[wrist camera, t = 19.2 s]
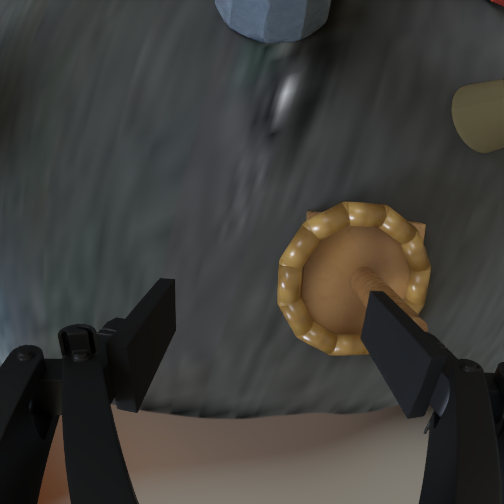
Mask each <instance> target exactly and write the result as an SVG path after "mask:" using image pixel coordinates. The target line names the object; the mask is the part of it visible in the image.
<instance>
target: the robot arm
mask: <svg viewBox="0 0 504 504" xmlns="http://www.w3.org/2000/svg"><path fill="white" fill-rule="evenodd" d="M175 331H176V311H175V279H164V278H160V279H159V280H158V281H157V282H156V283H155V285H154V286H153V287H152V288H151V289H150V290H149V291H148V293H147V294H146V295H145V296H144V297H143V298H142V300H141V301H140V302H139V303H138V304H137V305H136V307H135V308H134V309H133V310H132V311H131V313H130V314H129V315H128V316H127V317H126V319H123V318H115V319H113V320H111V321H109V322H107V323H106V324H105V325H104V326H103V327H102V329H101V330H100V331H99V332H98V334H97V332H96V330H95V328H93V327H92V326H90V325H85V324H75V325H70V326H67V327H64V328H63V329H61V330H60V331H59V333H58V339H59V343H60V348H61V353H62V359H44V355H43V352H42V350H41V349H40V348H39V347H37V346H33V345H23V346H19V347H18V348H16V349H14V350H13V351H12V352H11V353H10V354H9V355H8V357H7V358H6V360H5V361H4V363H3V364H2V366H1V367H0V504H37V503H38V497H39V493H40V488H41V483H42V479H43V475H44V471H45V466H46V462H47V458H48V455H49V450H50V447H51V443H52V440H53V436H54V433H55V429H56V426H57V423H58V419H59V416H60V415H62V423H63V440H64V453H65V462H66V472H67V480H68V487H69V493H70V500H71V504H139V503H138V500H137V498H136V495H135V492H134V489H133V486H132V483H131V480H130V477H129V474H128V470H127V467H126V464H125V460H124V457H123V454H122V450H121V446H120V442H119V439H118V435H117V431H116V427H115V423H114V418H113V414H112V410H111V406H110V404H111V403H112V401H113V399H114V397H115V401H116V405H117V409H121V410H125V411H130V412H135V413H137V412H138V410H139V408H140V406H141V404H142V401H143V399H144V397H145V395H146V393H147V391H148V388H149V386H150V384H151V382H152V380H153V377H154V375H155V373H156V371H157V369H158V367H159V365H160V362H161V360H162V358H163V356H164V354H165V352H166V350H167V348H168V346H169V343H170V341H171V339H172V337H173V335H174V333H175ZM360 339H361V341H362V342H363V344H364V346H365V347H366V349H367V351H368V352H369V354H370V356H371V357H372V359H373V360H374V362H375V364H376V365H377V367H378V369H379V371H380V372H381V374H382V376H383V377H384V379H385V381H386V382H387V384H388V386H389V387H390V389H391V391H392V393H393V394H394V396H395V398H396V399H397V401H398V403H399V405H400V406H401V408H402V410H403V412H404V413H405V415H406V417H407V418H415V417H421V416H424V415H425V413H426V410H427V408H428V406H429V404H430V405H431V406H432V408H433V409H434V412H433V414H432V416H431V418H430V420H429V423H428V424H427V426H426V428H425V431H424V433H425V434H426V433H427V431H428V430H429V440H428V449H427V457H426V464H425V471H424V478H423V484H422V490H421V495H420V500H419V504H504V362H501V363H499V364H498V367H497V369H496V371H495V373H484V371H483V369H482V367H481V366H480V365H479V364H478V363H476V362H474V361H471V360H468V359H457V358H456V357H455V356H454V355H453V354H452V353H451V352H450V351H449V350H448V349H447V348H445V346H444V345H443V344H442V343H441V342H440V341H439V340H438V339H437V338H436V337H435V336H434V335H432V334H430V333H428V332H425V331H424V330H423V329H422V328H421V327H420V326H419V325H418V324H417V323H416V322H415V321H414V320H413V319H412V318H411V317H410V316H409V315H408V314H407V313H405V312H404V311H403V310H402V309H401V308H400V307H399V306H398V305H397V304H396V303H395V302H394V301H393V300H392V299H391V298H390V297H389V296H388V295H387V294H386V293H385V292H384V291H370V293H369V298H368V304H367V309H366V314H365V319H364V324H363V328H362V333H361V337H360Z"/></svg>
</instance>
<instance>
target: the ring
mask: <svg viewBox="0 0 504 504" xmlns="http://www.w3.org/2000/svg"><path fill="white" fill-rule="evenodd" d="M348 226H361V227H379V228H380V229H381V230H383V231H384V232H385V233H387V234H388V235H389V236H391V237H392V238H394V239H395V240H396V241H398V242H399V243H400V244H401V246H402V249H403V252H404V254H405V257H406V259H407V262H408V265H409V268H410V273H409V280H408V286H407V292H406V297H405V299H404V301H405V302H406V303H407V304H408V305H409V306H410V307H411V308H412V309H413V310H414V311H415V312H416V313H417V314H419V312H420V311H421V310H422V308H423V307H424V305H425V301H426V295H427V290H428V284H429V278H430V272H431V264H430V261H429V258H428V255H427V252H426V249H425V247H424V244H423V241H422V238H421V236H420V233H419V231H418V229H417V228H416V227H415V226H414V225H412V224H411V223H410V222H409V221H407V220H406V219H405V218H403V217H402V216H401V215H400V214H398V213H397V212H396V211H394V210H393V209H392V208H390V207H389V206H387V205H385V204H376V203H363V202H348V201H345V202H341V203H339V204H337V205H335V206H333V207H331V208H329V209H327V210H326V211H324V212H322V213H320V214H318V215H316V216H314V217H312V218H310V219H308V220H306V221H305V222H304V223H303V224H302V225H301V227H300V228H299V230H298V231H297V233H296V234H295V236H294V238H293V239H292V241H291V242H290V244H289V245H288V247H287V248H286V250H285V251H284V253H283V255H282V256H281V258H280V260H279V272H278V292H277V303H278V305H279V307H280V309H281V311H282V312H283V314H284V316H285V318H286V320H287V321H288V323H289V325H290V327H291V329H292V330H293V332H294V334H295V336H296V337H297V338H299V339H300V340H302V341H304V342H306V343H308V344H309V345H311V346H313V347H315V348H317V349H319V350H320V351H322V352H324V353H326V354H328V355H367V354H369V352H368V351H367V349H366V347H365V346H364V344H363V342H362V341H361V339H360V337H361V334H335V333H333V332H331V331H329V330H328V329H326V328H324V327H322V326H321V325H319V324H317V323H316V322H314V321H313V320H312V318H311V316H310V314H309V312H308V310H307V309H306V307H305V305H304V303H303V301H302V299H301V284H302V270H303V266H304V265H305V263H306V262H307V260H308V259H309V257H310V256H311V254H312V253H313V251H314V250H315V248H316V247H317V245H318V244H319V242H320V241H321V240H323V239H325V238H327V237H329V236H330V235H332V234H334V233H336V232H338V231H340V230H342V229H344V228H346V227H348Z"/></svg>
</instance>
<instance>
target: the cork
mask: <svg viewBox="0 0 504 504" xmlns="http://www.w3.org/2000/svg"><path fill="white" fill-rule="evenodd" d="M451 111H452V118H453V122H454V125H455V127H456V130H457V132H458V134H459V135H460V137H461V139H462V140H463V142H464V143H465V144H467V145H468V146H469V147H470V148H471V149H473V150H475V151H477V152H479V153H489V152H493V151H496V150H499V149H503V148H504V79H503V80H495V81H488V82H482V83H476V84H470V85H465V86H462V87H461V88H459V89H458V90H457V91H456V93H455V95H454V97H453V99H452V108H451Z"/></svg>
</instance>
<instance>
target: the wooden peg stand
mask: <svg viewBox="0 0 504 504" xmlns="http://www.w3.org/2000/svg"><path fill="white" fill-rule="evenodd" d="M320 213H322V212H316V211H307V213H306V220H308V219H310V218H312V217H314V216H316V215H318V214H320ZM409 222H410V223H411V224H412V225H414V226H415V227H416V228H417V229H418V231H419V233H420V236H421V238H422V241H423V242H424V235H425V227H426V225H425V224H423V223H420V222H413V221H409ZM409 273H410V268H409V265H408V262H407V259H406V257H405V254H404V252H403V249H402V246H401V244H400V243H399V242H398V241H396V240H395V239H394V238H392V237H391V236H389V235H388V234H387V233H385V232H384V231H383V230H381V229H380V228H379V227H361V226H348V227H346V228H344V229H342V230H340V231H338V232H336V233H334V234H332V235H330V236H329V237H327V238H325V239H323V240H321V241H320V242H319V244H318V245H317V247H316V248H315V250H314V251H313V253H312V254H311V256H310V257H309V259H308V260H307V262H306V263H305V265H304V266H303V270H302V284H301V299H302V301H303V303H304V305H305V307H306V309H307V310H308V312H309V314H310V316H311V318H312V320H313V321H314V322H316V323H317V324H319V325H321V326H322V327H324V328H326V329H328V330H329V331H331V332H333V333H335V334H361V333H362V328H363V324H364V319H365V314H366V309H367V304H368V298H369V293H370V291H384V292H385V293H386V294H387V295H388V296H389V297H390V298H391V299H392V300H393V301H394V302H395V303H396V304H397V305H398V306H399V307H400V308H401V309H402V310H403V311H404V312H405V313H407V314H408V315H409V316H410V317H411V318H412V319H413V320H414V321H415V322H416V323H417V324H418V325H419V326H420V327H421V328H422V329H423V330H424V331H425V332H428V327H427V324H426V322H425V321H424V320H423V319H422V318H421V317H420V316H419V315H418V314H417V313H416V312H415V311H414V310H413V309H412V308H411V307H410V306H409V305H408V304H407V303H406V302H405V301H404V299H405V297H406V292H407V286H408V280H409Z"/></svg>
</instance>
